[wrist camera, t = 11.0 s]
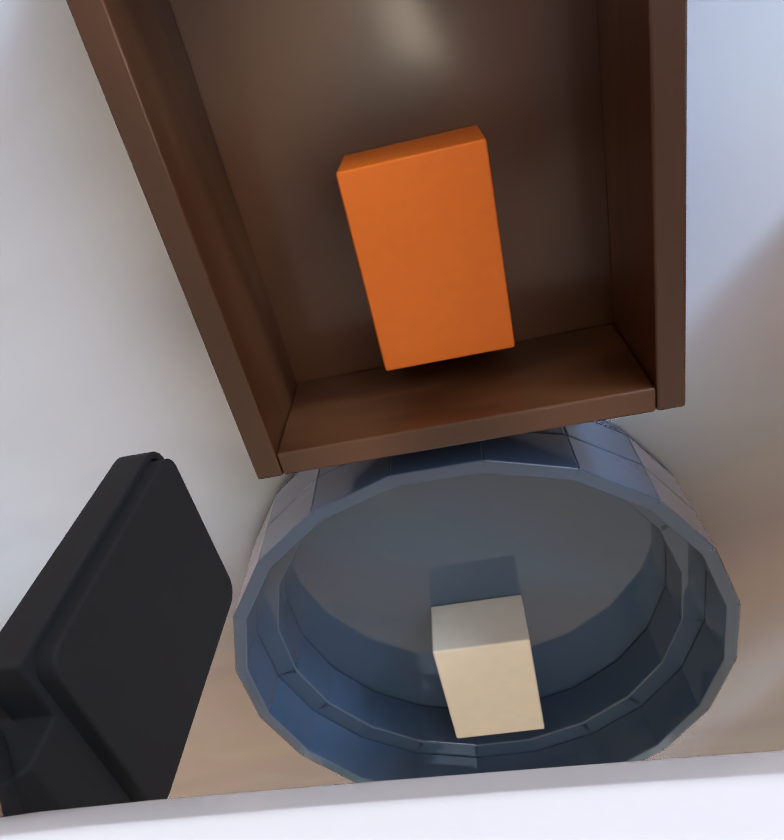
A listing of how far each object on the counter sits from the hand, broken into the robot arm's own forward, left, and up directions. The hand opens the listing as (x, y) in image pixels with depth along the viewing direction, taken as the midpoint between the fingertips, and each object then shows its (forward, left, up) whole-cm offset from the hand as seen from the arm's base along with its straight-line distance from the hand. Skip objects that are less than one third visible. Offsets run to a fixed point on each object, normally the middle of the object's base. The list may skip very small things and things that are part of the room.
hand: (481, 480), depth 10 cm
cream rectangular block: (+1, +19, -13) cm, 23 cm away
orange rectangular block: (0, 0, -13) cm, 13 cm away
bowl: (+1, +15, -13) cm, 21 cm away
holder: (+1, -4, -13) cm, 14 cm away
